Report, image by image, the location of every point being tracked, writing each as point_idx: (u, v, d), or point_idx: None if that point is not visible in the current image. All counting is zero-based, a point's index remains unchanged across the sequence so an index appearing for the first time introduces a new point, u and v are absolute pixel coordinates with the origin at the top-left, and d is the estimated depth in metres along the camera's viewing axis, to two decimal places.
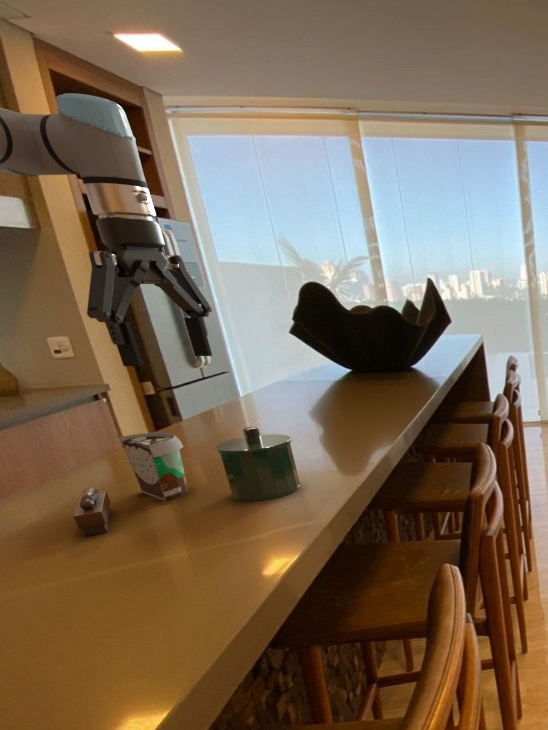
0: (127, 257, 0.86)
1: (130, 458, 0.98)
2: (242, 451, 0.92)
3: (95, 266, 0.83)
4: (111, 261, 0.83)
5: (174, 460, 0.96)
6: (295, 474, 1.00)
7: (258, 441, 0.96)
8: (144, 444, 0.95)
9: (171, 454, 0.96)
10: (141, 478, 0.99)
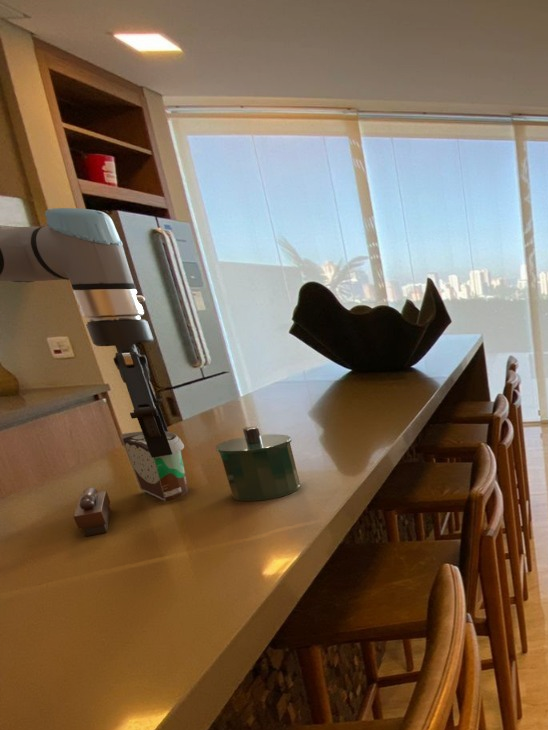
0: None
1: (131, 456, 0.98)
2: (242, 451, 0.92)
3: (125, 366, 0.87)
4: (139, 360, 0.88)
5: (175, 460, 0.96)
6: (295, 474, 1.00)
7: (258, 441, 0.96)
8: (145, 444, 0.94)
9: (172, 455, 0.95)
10: (141, 476, 0.98)
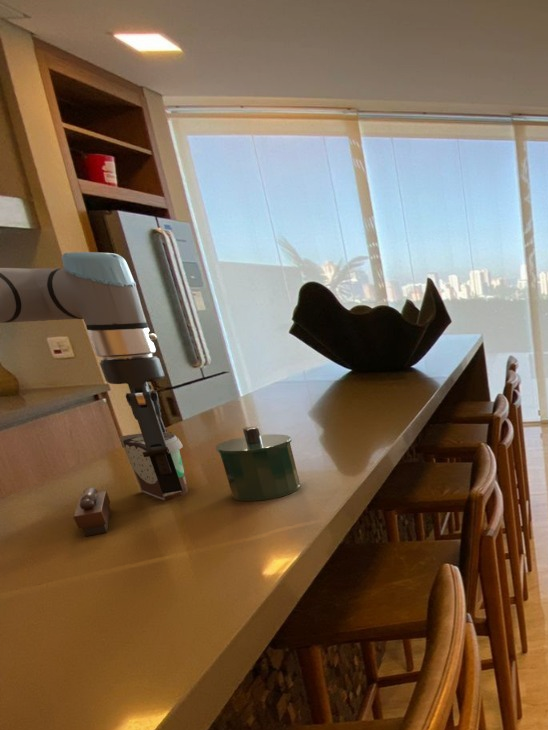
0: (148, 392, 0.92)
1: (131, 457, 0.98)
2: (242, 451, 0.92)
3: (138, 407, 0.89)
4: (151, 399, 0.90)
5: (174, 460, 0.97)
6: (295, 474, 1.00)
7: (258, 441, 0.96)
8: (144, 444, 0.95)
9: (171, 454, 0.96)
10: (141, 478, 0.99)
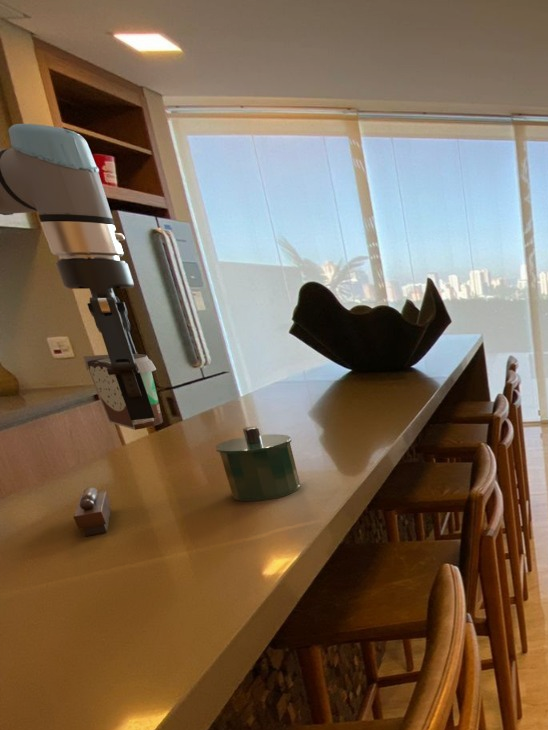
0: None
1: (96, 381, 0.86)
2: (242, 451, 0.92)
3: (101, 314, 0.76)
4: (117, 307, 0.78)
5: (145, 383, 0.84)
6: (295, 474, 1.00)
7: (258, 441, 0.96)
8: (110, 363, 0.82)
9: (141, 376, 0.83)
10: (108, 405, 0.86)
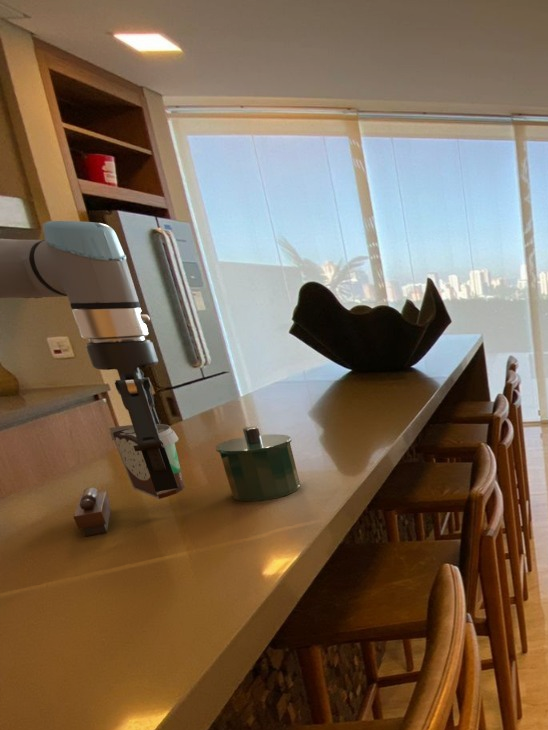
0: (140, 379, 0.83)
1: (121, 451, 0.89)
2: (242, 451, 0.92)
3: (128, 395, 0.80)
4: (143, 387, 0.82)
5: (169, 454, 0.88)
6: (295, 474, 1.00)
7: (258, 441, 0.96)
8: (135, 436, 0.86)
9: (165, 448, 0.87)
10: (133, 473, 0.90)
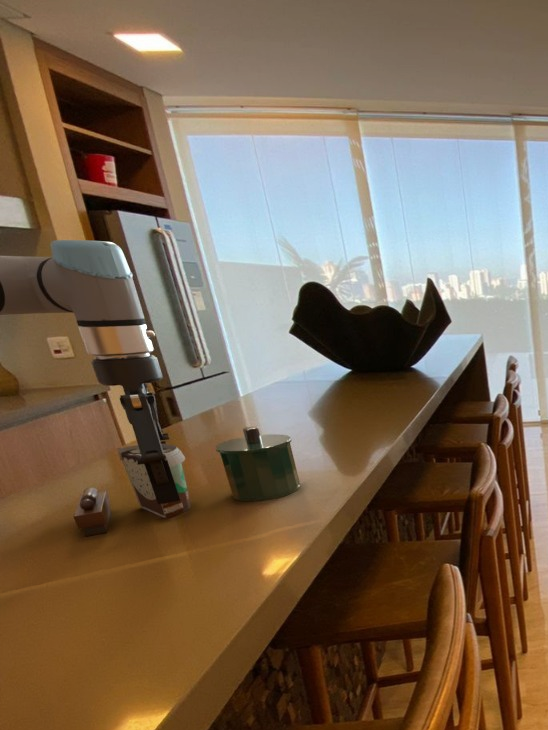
0: None
1: (129, 471, 0.91)
2: (242, 451, 0.92)
3: (132, 410, 0.81)
4: (147, 402, 0.82)
5: (176, 474, 0.89)
6: (295, 474, 1.00)
7: (258, 441, 0.96)
8: None
9: (172, 468, 0.88)
10: (140, 493, 0.91)
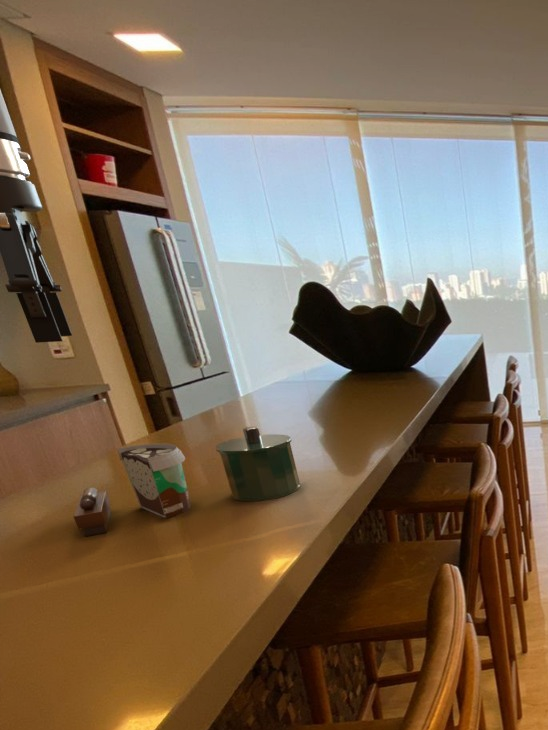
0: (18, 220, 0.77)
1: (129, 471, 0.91)
2: (242, 451, 0.92)
3: None
4: (18, 224, 0.76)
5: (176, 474, 0.89)
6: (295, 474, 1.00)
7: (258, 441, 0.96)
8: (143, 457, 0.88)
9: (172, 468, 0.88)
10: (140, 493, 0.91)
